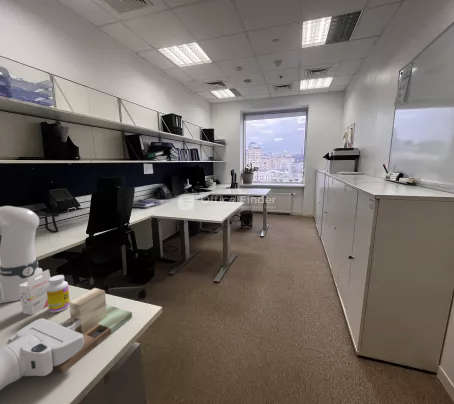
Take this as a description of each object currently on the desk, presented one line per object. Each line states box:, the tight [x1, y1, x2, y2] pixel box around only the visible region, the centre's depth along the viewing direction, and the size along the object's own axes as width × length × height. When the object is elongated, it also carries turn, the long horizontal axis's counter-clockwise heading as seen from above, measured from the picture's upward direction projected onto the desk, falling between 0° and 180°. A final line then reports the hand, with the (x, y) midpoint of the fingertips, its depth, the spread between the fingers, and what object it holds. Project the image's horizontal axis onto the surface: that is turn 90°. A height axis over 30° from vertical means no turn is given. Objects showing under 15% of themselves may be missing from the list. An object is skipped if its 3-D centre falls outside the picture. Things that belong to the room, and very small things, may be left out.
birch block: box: [69, 287, 107, 334], centre depth 73 cm, size 5×9×10 cm, turn 159°
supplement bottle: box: [46, 274, 71, 314], centre depth 84 cm, size 7×7×13 cm
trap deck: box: [53, 303, 133, 373], centre depth 72 cm, size 18×24×2 cm
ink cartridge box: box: [19, 269, 51, 316], centre depth 84 cm, size 9×5×15 cm, turn 168°
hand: (78, 320), depth 69 cm, fingers closed
